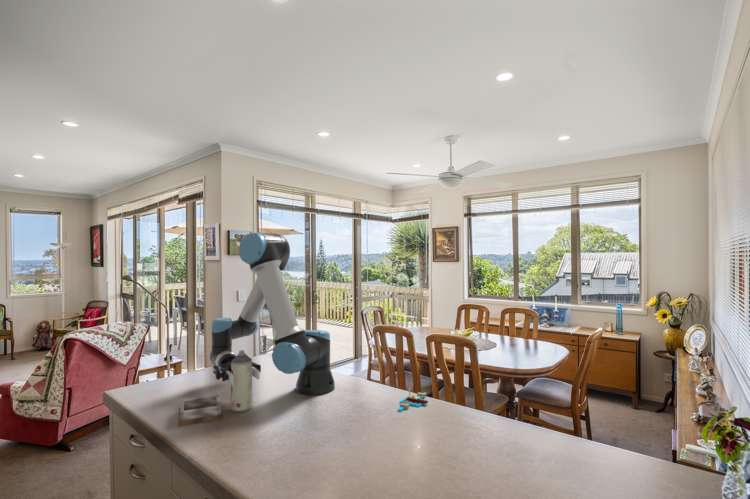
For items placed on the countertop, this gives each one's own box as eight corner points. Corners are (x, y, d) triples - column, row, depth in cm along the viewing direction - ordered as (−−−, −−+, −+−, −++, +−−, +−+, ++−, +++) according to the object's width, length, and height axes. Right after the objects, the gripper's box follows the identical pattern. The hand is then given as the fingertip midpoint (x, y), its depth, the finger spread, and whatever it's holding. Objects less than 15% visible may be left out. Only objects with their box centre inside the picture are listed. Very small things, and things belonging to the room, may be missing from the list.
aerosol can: (235, 405, 142) (235, 348, 142) (254, 405, 142) (254, 348, 142) (228, 413, 135) (228, 353, 135) (248, 412, 135) (248, 353, 135)
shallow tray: (220, 405, 142) (220, 394, 142) (222, 419, 130) (222, 406, 130) (179, 411, 136) (179, 399, 136) (178, 426, 124) (178, 413, 125)
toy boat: (438, 398, 149) (416, 393, 155) (438, 383, 149) (416, 379, 155) (413, 416, 133) (389, 410, 138) (413, 399, 133) (389, 394, 138)
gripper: (255, 368, 159) (275, 383, 140) (198, 377, 148) (213, 394, 129) (255, 349, 159) (275, 361, 141) (198, 357, 148) (213, 371, 129)
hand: (245, 377), depth 135 cm, fingers open, 8 cm apart
